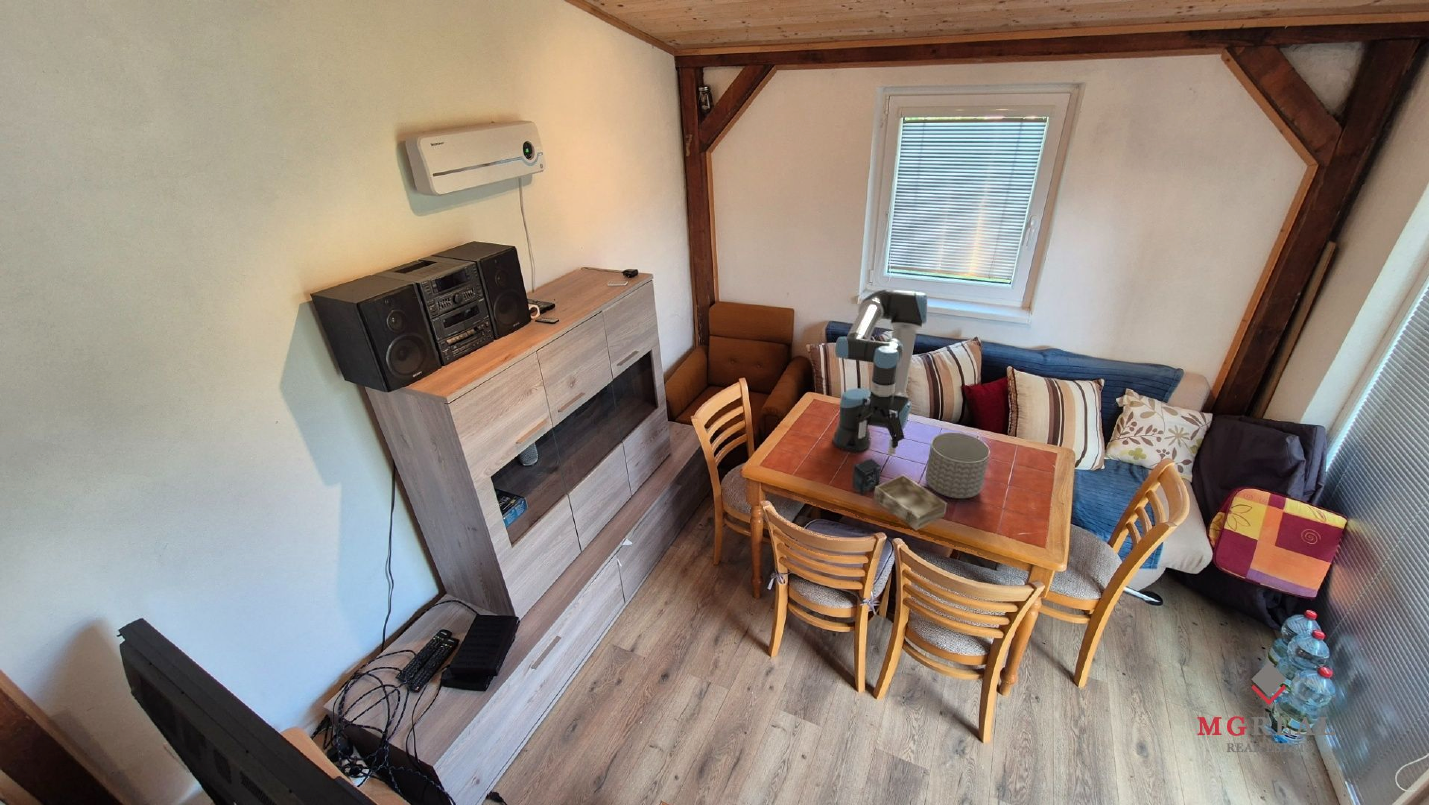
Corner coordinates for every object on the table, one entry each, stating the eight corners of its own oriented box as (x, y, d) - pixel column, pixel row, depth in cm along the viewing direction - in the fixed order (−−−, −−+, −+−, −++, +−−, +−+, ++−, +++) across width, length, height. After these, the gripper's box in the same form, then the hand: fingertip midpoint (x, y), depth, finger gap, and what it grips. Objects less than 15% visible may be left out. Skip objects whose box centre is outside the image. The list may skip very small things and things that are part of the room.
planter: (975, 475, 210) (984, 434, 201) (984, 507, 194) (995, 465, 185) (921, 470, 214) (928, 430, 206) (926, 502, 198) (934, 459, 189)
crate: (872, 499, 201) (874, 487, 198) (901, 486, 207) (902, 474, 204) (915, 531, 186) (917, 518, 183) (944, 515, 192) (947, 503, 189)
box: (861, 495, 203) (863, 472, 198) (851, 487, 207) (854, 463, 202) (878, 489, 205) (881, 466, 200) (869, 481, 210) (871, 458, 205)
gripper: (846, 382, 194) (842, 433, 204) (904, 410, 176) (897, 465, 186) (862, 375, 198) (857, 427, 208) (920, 403, 179) (912, 457, 189)
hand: (876, 445), depth 197 cm, fingers open, 13 cm apart
